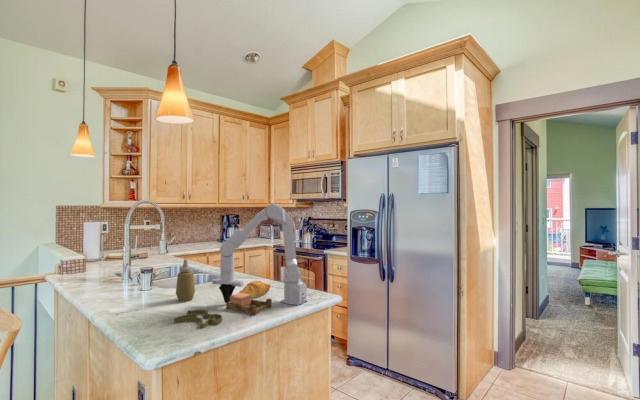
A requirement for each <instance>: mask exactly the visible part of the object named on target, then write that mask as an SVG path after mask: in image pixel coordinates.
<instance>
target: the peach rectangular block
mask: <svg viewBox="0 0 640 400" xmlns="http://www.w3.org/2000/svg"><path fill="white" fill-rule="evenodd" d="M251 299H252V298H251V294H245V293H239V292H238V293H235V294H232V296H230V302H229V303H234V304H239V305H244V306H250V305H251Z"/></svg>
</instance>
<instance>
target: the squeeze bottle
mask: <svg viewBox="0 0 640 400" xmlns="http://www.w3.org/2000/svg"><path fill="white" fill-rule="evenodd" d="M176 278H177V280H176V287H175V290H176V291H175V295H176V298H177V301H178V302H190V301H192V300H193V298H194V295H195V293H196V289H195V277H194V272H193V271H192V267H191V266H189V262H188V258H187V259H183V263H182V267H180V268H179V272H178V273H177V277H176Z"/></svg>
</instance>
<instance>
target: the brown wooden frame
mask: <svg viewBox="0 0 640 400" xmlns="http://www.w3.org/2000/svg"><path fill="white" fill-rule="evenodd" d="M225 306H226V308H225V309H226V310H229V311H236V312H240V313H244V314H249V315H250V316H252V315H253V316H257V314H258V313H260V311H261V312H263V311H265V310H267V309H268V308H270V307H272V298H267V299H265V301H264V300H257V299H254V298H251V305H250V306H244V305H239V304H234V303H230V302H228V303H225ZM266 308H267V309H266ZM264 309H265V310H264ZM270 309H271V308H270ZM262 310H263V311H262Z"/></svg>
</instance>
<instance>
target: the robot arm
mask: <svg viewBox="0 0 640 400" xmlns="http://www.w3.org/2000/svg"><path fill="white" fill-rule="evenodd" d="M269 219H272V220H275V221H276V222H278V223H279V224H281V227H282V236H283V245H284V246H283V247H284V254H285V269H284V274H285V278H284V280H283V281H284V283H283V285H284V286H283V289H284V290H283V295H284V296H283V297H284V298H283V299H282V300H280V301H279V302H280V303H282V302H284V303H285V304H288V303H289V304H290V305H294V304H295V305H294V306H300V305H301V303H302V304H304V303H306V302H308V298H307V297H308V295H307V294H308V292H307V289H308V288H307V284H306V283H305V282H303V281H302V280H301V275H302V274H301V271H300V269H299V267H298V261H297V254H296V246H295V245H296V244H295V237H294V225H293V219H292V217H291V216H290V215H289V213H287V212H286V210H285V209H284V207H282V206H281V205H279V204H277V203H270V204H268V206H267V207H264V209H261V211H259V212H257V214H256V215H255V216H254V217H252V219H251V220H250V221H249V222H248V223H247V224H246V225H245V226H244V227H243V228H237V229H234V231H233V233H232V234H231V236H229V238H226V239H225V242H223V243H222V244H221V246H220V247H219V253H220V262H219V263H220V278H214V279H211V284H212V285H220V286H219V287H218V289H219V290H220V292H221V294H222V297H223V301H224V303H225V304H226V303H228V302H229V303H230V296H232V295H233V293H234V291H235V289H236V287H238V288H241V287H243V286H244V281H241V280H237V279H235V251H236V249H238V248H239V247H241V245H243V244H244V243H245V242H246V241H247V239H248V238H249V233H250V232H252V231H253V230H254V229H255V228H256V227H257V226H258V225H259V224H260V223H261V222H264V221H267V220H269ZM305 301H306V302H305ZM303 302H304V303H303ZM284 303H283V304H284ZM299 304H300V305H299Z"/></svg>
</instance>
